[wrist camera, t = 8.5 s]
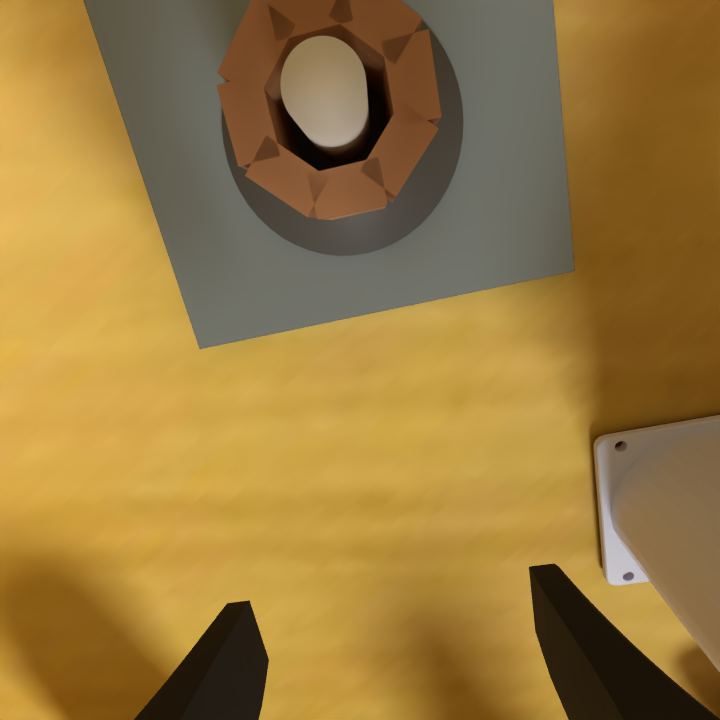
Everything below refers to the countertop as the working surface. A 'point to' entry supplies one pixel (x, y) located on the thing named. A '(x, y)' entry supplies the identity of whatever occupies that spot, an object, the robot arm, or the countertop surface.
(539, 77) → the post board
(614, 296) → the countertop surface
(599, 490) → the robot arm
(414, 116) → the collar
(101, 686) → the countertop surface
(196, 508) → the countertop surface
